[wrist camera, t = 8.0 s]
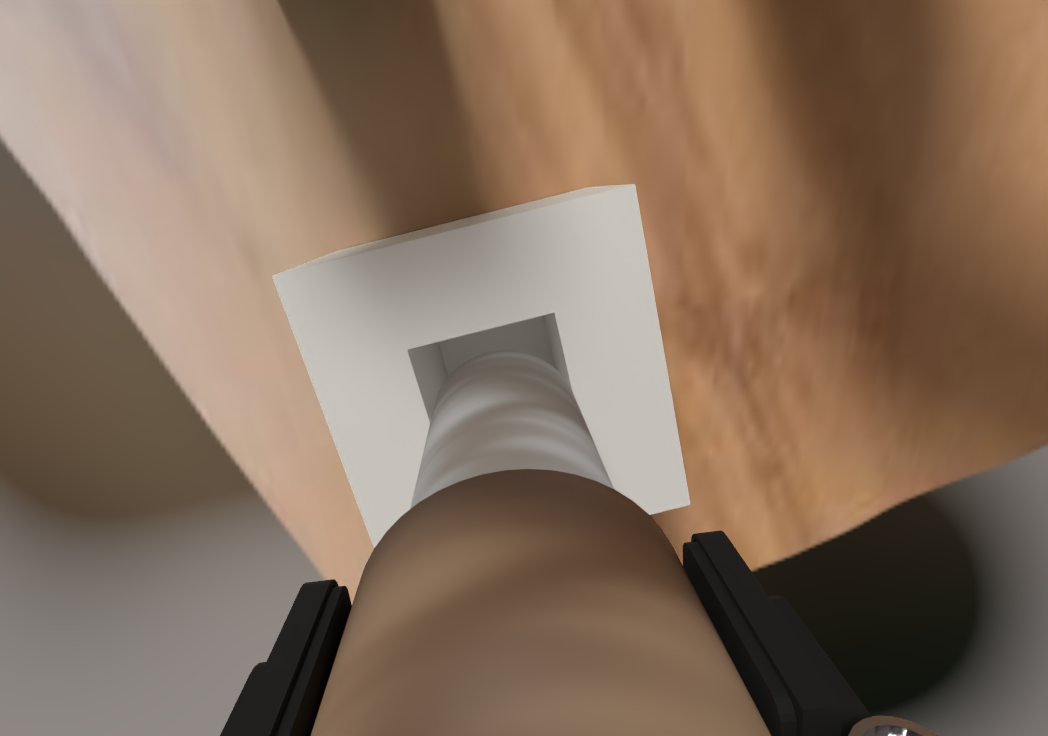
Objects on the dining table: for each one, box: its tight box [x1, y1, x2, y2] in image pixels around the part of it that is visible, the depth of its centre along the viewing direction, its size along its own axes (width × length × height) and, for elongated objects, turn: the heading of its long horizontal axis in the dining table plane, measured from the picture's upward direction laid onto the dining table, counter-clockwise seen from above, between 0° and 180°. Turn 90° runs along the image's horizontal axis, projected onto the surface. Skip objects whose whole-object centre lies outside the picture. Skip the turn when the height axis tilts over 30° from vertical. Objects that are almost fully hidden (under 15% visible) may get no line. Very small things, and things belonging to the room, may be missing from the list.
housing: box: [272, 184, 690, 548], centre depth 28 cm, size 14×14×10 cm
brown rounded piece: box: [311, 350, 771, 736], centre depth 14 cm, size 6×6×15 cm
